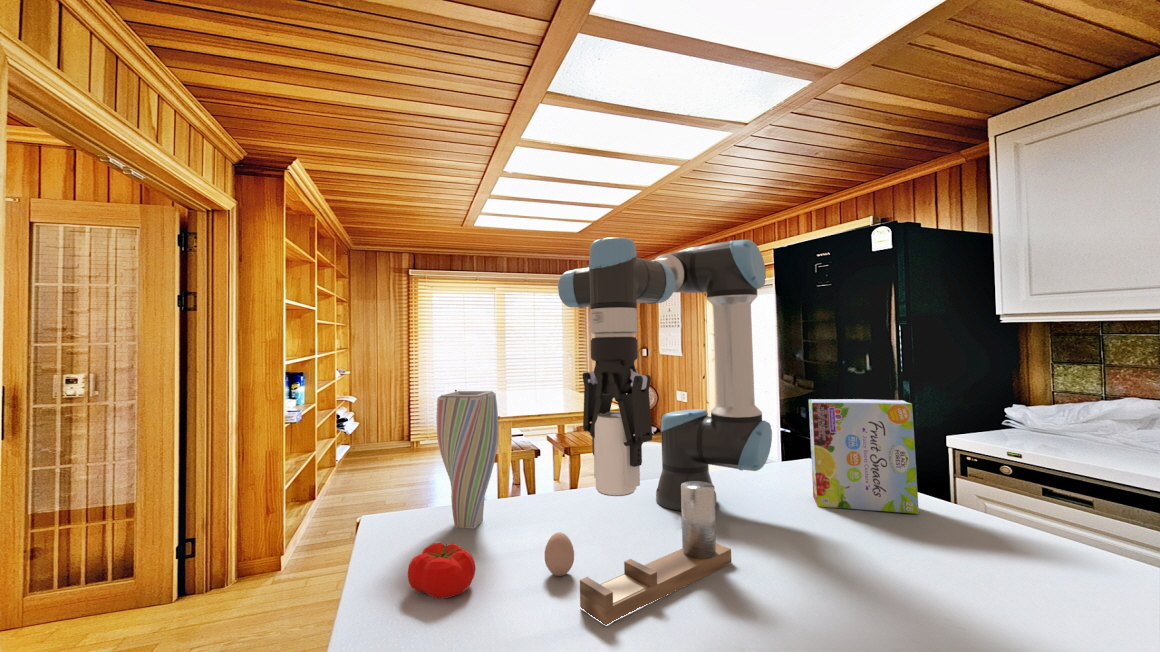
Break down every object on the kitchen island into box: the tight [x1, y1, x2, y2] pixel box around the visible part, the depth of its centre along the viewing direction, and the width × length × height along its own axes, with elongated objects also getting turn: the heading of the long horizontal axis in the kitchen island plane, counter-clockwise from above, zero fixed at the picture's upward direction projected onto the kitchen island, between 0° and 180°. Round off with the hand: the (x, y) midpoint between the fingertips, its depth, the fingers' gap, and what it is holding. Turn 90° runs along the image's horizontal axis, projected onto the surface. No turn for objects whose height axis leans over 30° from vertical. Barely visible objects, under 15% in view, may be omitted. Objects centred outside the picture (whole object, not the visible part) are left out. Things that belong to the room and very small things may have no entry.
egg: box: [544, 531, 575, 577], centre depth 85 cm, size 5×5×7 cm
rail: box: [579, 542, 732, 625], centre depth 81 cm, size 6×31×4 cm, turn 128°
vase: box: [435, 390, 499, 529], centre depth 110 cm, size 14×14×30 cm
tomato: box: [407, 542, 476, 599], centre depth 81 cm, size 10×11×6 cm
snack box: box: [808, 398, 920, 515], centre depth 117 cm, size 22×9×26 cm, turn 71°
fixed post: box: [681, 481, 717, 560], centre depth 88 cm, size 6×6×12 cm
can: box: [594, 411, 637, 497], centre depth 76 cm, size 6×6×12 cm
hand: (616, 481), depth 76 cm, fingers closed on can, 6 cm apart
